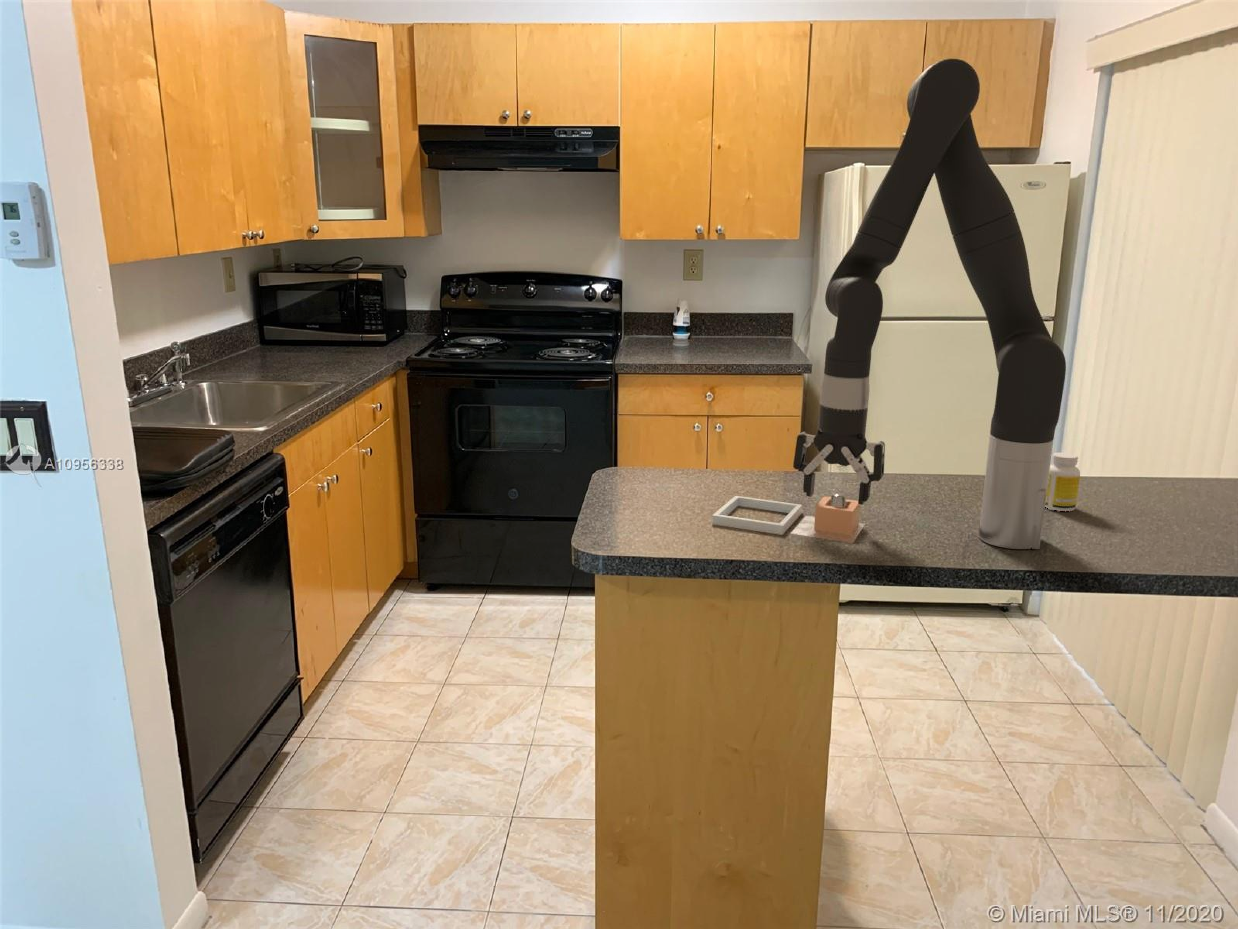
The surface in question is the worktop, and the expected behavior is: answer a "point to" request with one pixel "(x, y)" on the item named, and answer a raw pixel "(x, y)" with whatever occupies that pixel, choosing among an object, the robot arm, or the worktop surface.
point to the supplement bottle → (1063, 482)
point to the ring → (836, 516)
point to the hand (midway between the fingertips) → (835, 499)
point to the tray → (757, 525)
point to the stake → (808, 530)
